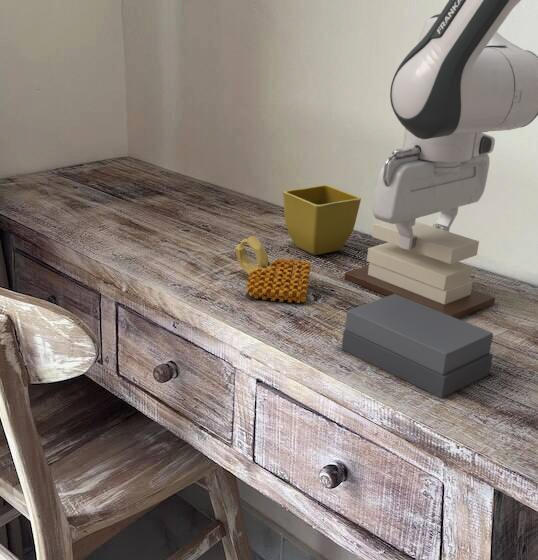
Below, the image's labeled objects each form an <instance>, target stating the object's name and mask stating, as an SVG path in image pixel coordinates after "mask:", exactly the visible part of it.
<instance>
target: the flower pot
mask: <svg viewBox="0 0 538 560" xmlns="http://www.w3.org/2000/svg"><path fill="white" fill-rule="evenodd" d="M282 194H283V195H282V196H283V211H284V221H285V226H286V230H287V232H288V235H289V237H290V238H291V240H292V242H293V244H294V246H295V247H297V248H299V249H301V250H303V251H305V252H307V253H309V254H311V255H313V256H319V255H324V254H329V253H333V252H338V251H340V250H341V249H342V248H343V247H344V246H345V244H346V243H347V242H348V240H349V238H351V235H352V233H353V231H354V228H355V225H356V221H357V218H358V213H359V210H360V205H361V200H362V198H361V197H360V196H357V195H356V194H355V195H354V194H352V193H349V192H348V191H347V192H346V191H343V190H342V189H339V188H336V187H334V186H331V185H327V184H320V185H316V186H315V185H314V186H309V187H304V188H303V187H302V188H295V189H289V190H284V191H282Z"/></svg>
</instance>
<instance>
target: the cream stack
mask: <svg viewBox="0 0 538 560" xmlns="http://www.w3.org/2000/svg"><path fill="white" fill-rule="evenodd" d="M366 262H368V265H366V266H362V267H359V268H355V269H353V270H348V271H345V272H344V280H347V281H349V282H351V283H353V284H356V285H358V286H361V287H364V288H366V289H369V290H371V291H374V292H376V293H378V294H381V295H383V296H385V297H387V296H390V295H393V294H397V295H399V296H402V297H404V298H407V299H409V300H412V301H414V302H417V303H419V304H422V305H424V306H427V307H429V308H432V309H434V310H437V311H439V312H442V313H444V314H447V315H449V316H452V317H454V318H457V319H459V320H460V319H461V318H464V317H467V316H469V315H471V314H473V313H476V312H478V311H481V310H483V309H486V308H488V307H490V306H491V307H492V306H493V305H495V300H496V297H495V296H491V295H489V294H487V293H483V292H480V291H478V290H476V289H473V283H474V282H473V280H472V279H471V278H472V273H473V266H471V265H469V264H468V265H467V264H466V263H462V262H460V261H458V262H455V263H452V264H449V263H446V262H443V261H440V260H437V259H434V258H431V257H429V256H426V255H423V254H420V253H417V252H414V251H411V250H406V249H403V248H400V247H399V246H397V245H394V244H391V243H388V242H385V243H381V244H378V245H375V246H371V247H368V248H367V255H366Z"/></svg>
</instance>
